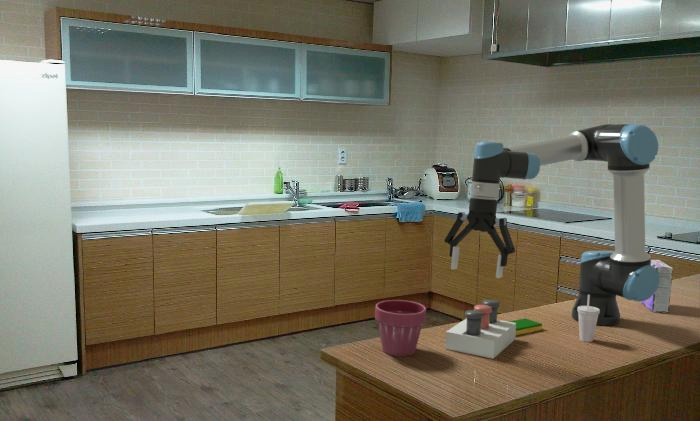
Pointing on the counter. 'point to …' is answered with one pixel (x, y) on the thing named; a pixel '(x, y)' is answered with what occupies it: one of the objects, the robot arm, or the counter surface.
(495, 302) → the knob
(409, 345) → the plant pot
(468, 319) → the knob
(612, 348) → the counter surface
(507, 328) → the mount
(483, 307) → the pink round knob
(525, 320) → the dish sponge
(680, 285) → the counter surface
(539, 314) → the counter surface
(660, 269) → the candy box
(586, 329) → the smoothie
